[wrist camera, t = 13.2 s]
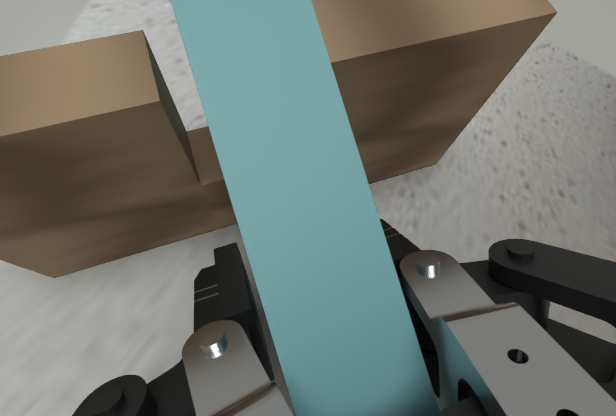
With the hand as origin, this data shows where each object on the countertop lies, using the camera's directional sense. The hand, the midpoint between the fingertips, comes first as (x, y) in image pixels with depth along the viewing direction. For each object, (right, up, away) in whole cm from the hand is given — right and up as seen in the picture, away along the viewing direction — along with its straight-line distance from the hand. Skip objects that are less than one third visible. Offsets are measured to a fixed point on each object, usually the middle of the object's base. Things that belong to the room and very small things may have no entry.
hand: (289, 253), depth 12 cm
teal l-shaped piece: (-1, +1, +4) cm, 4 cm away
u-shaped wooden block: (-2, +2, +7) cm, 7 cm away
